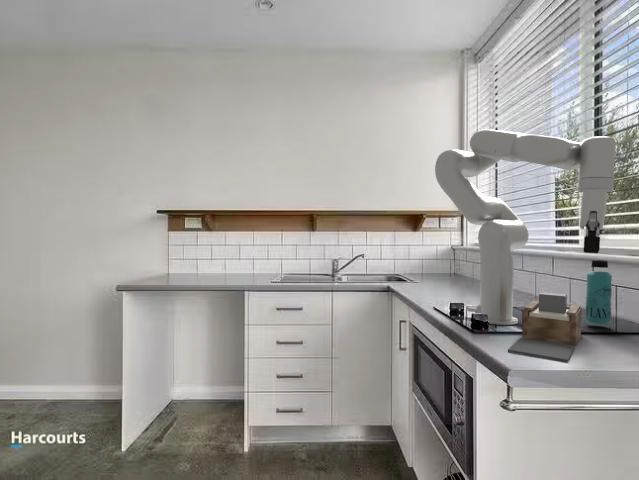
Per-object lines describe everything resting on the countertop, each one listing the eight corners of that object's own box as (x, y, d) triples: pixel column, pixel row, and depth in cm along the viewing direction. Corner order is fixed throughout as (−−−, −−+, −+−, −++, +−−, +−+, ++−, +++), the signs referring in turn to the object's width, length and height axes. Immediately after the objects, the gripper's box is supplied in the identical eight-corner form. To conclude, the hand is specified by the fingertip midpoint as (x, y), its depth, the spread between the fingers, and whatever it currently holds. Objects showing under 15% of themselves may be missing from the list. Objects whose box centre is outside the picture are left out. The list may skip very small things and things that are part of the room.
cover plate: (529, 316, 109) (529, 295, 108) (537, 309, 118) (538, 290, 118) (569, 320, 103) (570, 298, 103) (574, 313, 113) (575, 293, 113)
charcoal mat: (507, 352, 96) (507, 349, 96) (520, 339, 108) (520, 337, 108) (567, 362, 89) (567, 359, 89) (574, 348, 100) (574, 345, 100)
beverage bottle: (580, 326, 125) (582, 259, 125) (590, 323, 129) (592, 259, 128) (605, 330, 120) (607, 261, 119) (614, 327, 124) (616, 260, 123)
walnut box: (522, 338, 109) (522, 307, 109) (532, 328, 120) (532, 300, 120) (575, 346, 102) (576, 313, 102) (580, 335, 113) (581, 305, 113)
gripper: (580, 189, 117) (576, 249, 118) (576, 183, 103) (572, 252, 103) (612, 188, 113) (608, 251, 113) (613, 182, 98) (609, 254, 99)
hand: (591, 252), depth 108 cm, fingers open, 9 cm apart
